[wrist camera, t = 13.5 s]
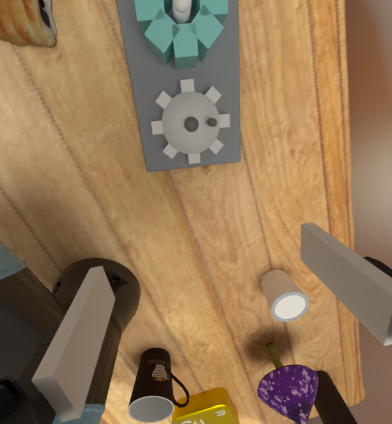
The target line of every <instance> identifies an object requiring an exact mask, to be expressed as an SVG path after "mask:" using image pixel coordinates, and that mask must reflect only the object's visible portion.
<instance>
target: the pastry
mask: <svg viewBox="0 0 392 424" xmlns="http://www.w3.org/2000/svg"><path fill="white" fill-rule="evenodd" d="M55 37H56V25H55V23H54V19H53V16H52V13H51V0H0V40H3V41H8V42H11V43H12V44H14V45H17V46H21V45H24V44H27V45H36V46H43V45H45V46H48V47H51V46H54V44H55V43H56V38H55Z"/></svg>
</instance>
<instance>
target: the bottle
mask: <svg viewBox="0 0 392 424" xmlns="http://www.w3.org/2000/svg"><path fill="white" fill-rule="evenodd" d="M316 374H317V375H318V386H317V394H316V397H315V401H314V405H315V407H316V409H317V411H318V414H319V416H320V418H321V420H322V422H323V424H357V422H356V421H355V419H354V417H353V415H352V414H351V412H350V410H349V409H348V407H347V405H346V403H345V402H344V400H343V398H342V397H341V395H340V393H339V392H338V390H337V388H336V387H335V385H334V383H333V382H332V380H331V378H330V376H329V375H328V374H327V373H326V372H322V371H317V372H316Z"/></svg>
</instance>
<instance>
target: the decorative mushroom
mask: <svg viewBox="0 0 392 424" xmlns="http://www.w3.org/2000/svg"><path fill="white" fill-rule="evenodd" d="M268 351H269V353H270V356H271V359H272V362H273V364H274V366H275V367H276V369H275V370H273V371H271V372H270V373H268V374H267V375H265V376H264V377H263V379H262V380H261V381H260V383H259V386H258V389H257V393H258V397H259V398H260V399H261V400H262V401H263V402H264V403H265V404H267V405H268V406H269V407H270V408H272V409H273V410H275V411H277V412H278V413H280V414H282V415H284V416H286V417H287V418H289V419H291V420H293V421H294V422H296V423H297V424H307V421H308V418H309V415H310V412H311V409H312V406H313V404H314V401H315V397H316V394H317V386H318V375H317V374H316V372H315V371H313V370H312V369H310V368H309V367H307V366H302V365H287V366H283V365H282V363H281V362H280V359H279V357H278V354H277V351H276V346H275V345H274V344H269V345H268Z"/></svg>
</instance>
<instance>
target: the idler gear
mask: <svg viewBox="0 0 392 424" xmlns="http://www.w3.org/2000/svg"><path fill="white" fill-rule="evenodd" d="M134 2H135V8H136V15H137V21H138V24H139V26H140V29H141V31H142V34H143V36H144V39H145V41H146V40H147V43H148V46H149V48H150V51H151V52H152V53H153V54H154V55H155V56H156V57H158V58H159V59H160V60H161V61H162V62H163V63H164V64H165V65H166V66H167V64H168V63H169V61H170V60H171V58H172V57H173V55H174V63H175V69H182V68H193V67H194V66H195V63H196V61H197V58H198V59H199V60H200V61H201V62H203V61H204V59H205V58H206V56H207V55H208V54H209V52H210V51H211V49H212V48H213V47H214V45H215V43H216V42H217V40H218V38H219V36H220V34H221V32H222V30H223V29H224V27H223V26H222V25H223V23H224V21H225V19H226V17H227V15H228V0H192V3H191V11H190V13H191V14H192V15H193V16H194V19H193V21H192V22H191V23H186V24H176V23H175V22H174V21H173V20H172V19H171V18H170V17H169V16H168V14H169V12H170V11H171V9H172V8H173V1H172V0H134Z"/></svg>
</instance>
